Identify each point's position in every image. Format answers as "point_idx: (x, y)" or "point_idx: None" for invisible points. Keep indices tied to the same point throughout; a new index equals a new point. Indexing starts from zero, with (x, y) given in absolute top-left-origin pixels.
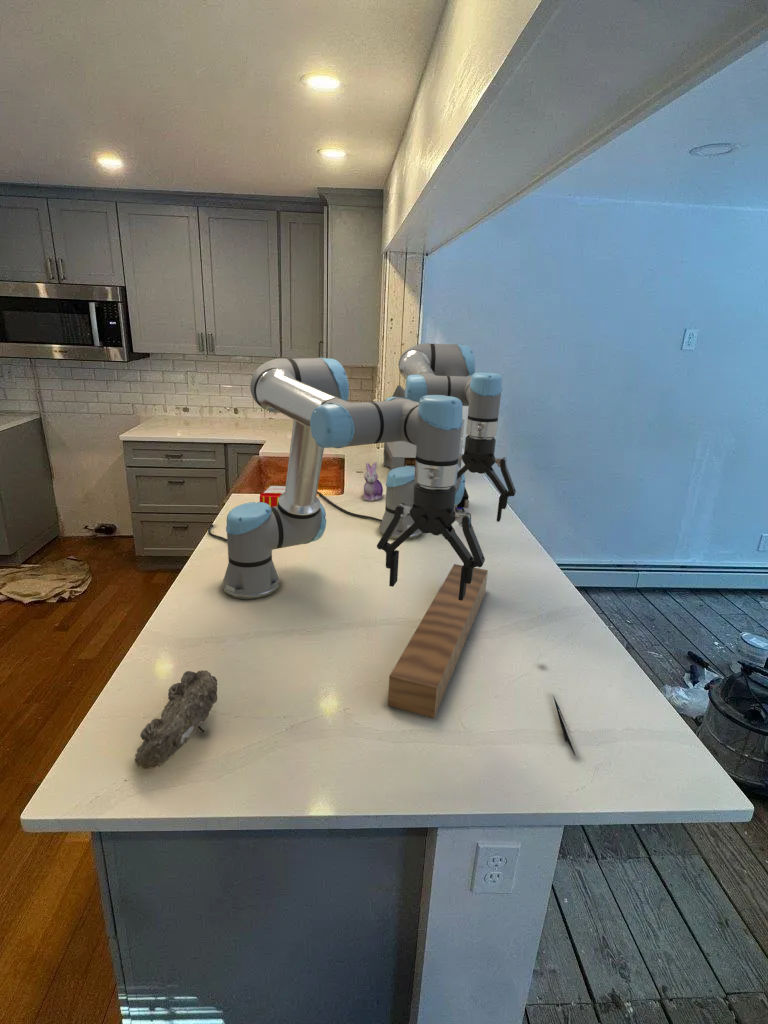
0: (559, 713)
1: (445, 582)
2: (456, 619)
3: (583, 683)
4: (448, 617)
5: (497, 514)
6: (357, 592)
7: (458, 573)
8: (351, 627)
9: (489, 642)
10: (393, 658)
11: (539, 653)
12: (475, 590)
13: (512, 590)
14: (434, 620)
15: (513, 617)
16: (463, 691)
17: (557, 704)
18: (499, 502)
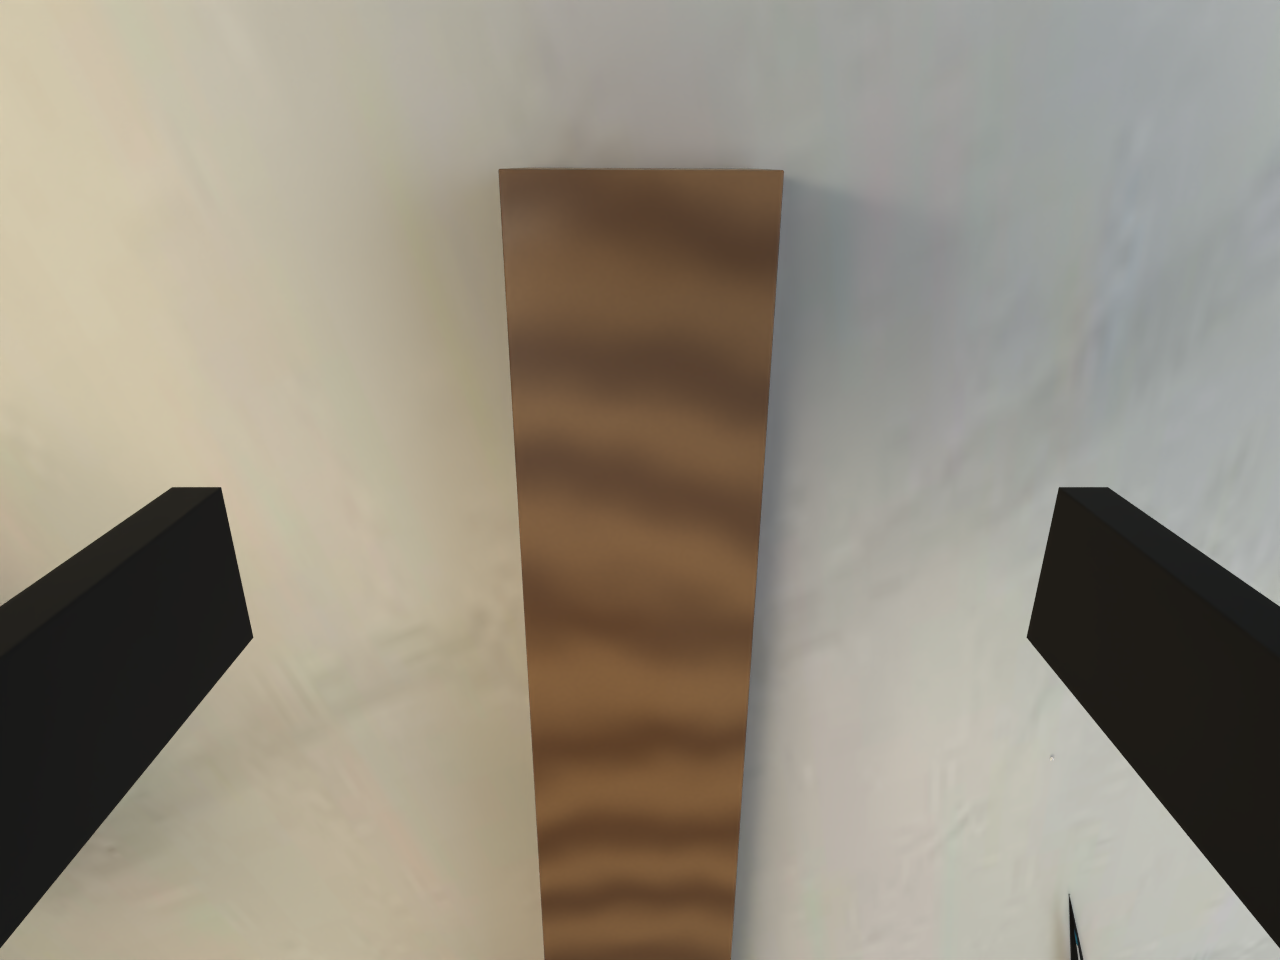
0: (1076, 956)
1: (530, 508)
2: (693, 843)
3: None
4: (652, 841)
5: (1091, 713)
6: (60, 491)
7: (576, 335)
8: (240, 774)
9: (829, 673)
10: (491, 883)
11: (1048, 673)
12: (737, 534)
13: (939, 44)
14: (596, 883)
15: (940, 416)
16: (769, 946)
17: (1077, 937)
18: (1271, 911)
